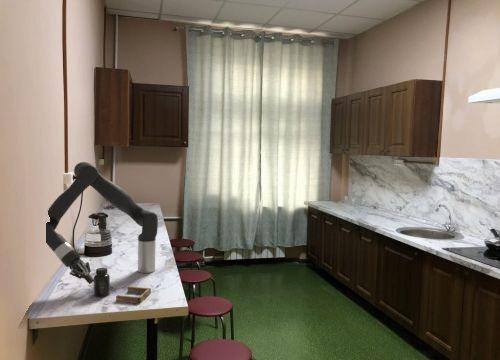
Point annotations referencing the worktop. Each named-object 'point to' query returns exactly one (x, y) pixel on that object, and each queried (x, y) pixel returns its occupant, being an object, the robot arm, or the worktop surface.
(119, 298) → the walnut frame
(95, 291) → the supplement bottle
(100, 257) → the worktop surface
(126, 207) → the robot arm
